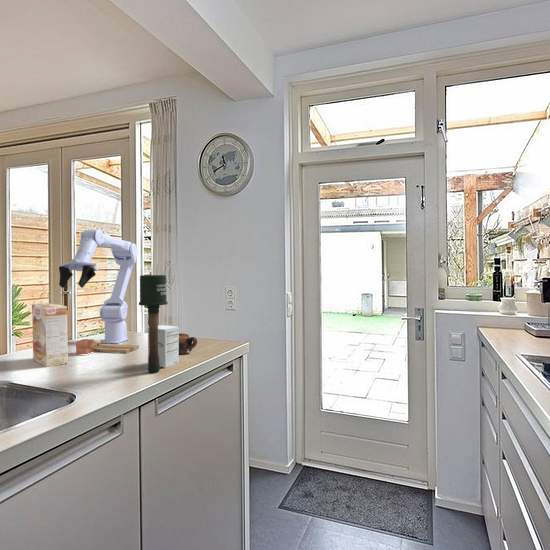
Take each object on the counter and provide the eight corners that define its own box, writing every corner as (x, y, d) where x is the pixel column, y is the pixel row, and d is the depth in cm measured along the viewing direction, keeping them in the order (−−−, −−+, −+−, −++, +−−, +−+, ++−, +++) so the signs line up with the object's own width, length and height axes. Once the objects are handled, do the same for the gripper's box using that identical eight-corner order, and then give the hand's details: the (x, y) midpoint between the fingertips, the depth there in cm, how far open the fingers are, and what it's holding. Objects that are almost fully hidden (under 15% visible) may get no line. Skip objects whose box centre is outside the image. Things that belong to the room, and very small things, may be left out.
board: (97, 346, 166) (97, 343, 166) (138, 348, 163) (138, 345, 163) (83, 351, 157) (83, 348, 157) (126, 353, 154) (126, 349, 154)
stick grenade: (160, 376, 123) (159, 275, 122) (133, 374, 125) (132, 275, 124) (172, 369, 131) (172, 274, 130) (148, 367, 133) (147, 274, 132)
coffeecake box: (32, 359, 144) (31, 304, 143) (54, 356, 149) (53, 302, 148) (45, 367, 133) (44, 307, 133) (68, 363, 138) (67, 305, 138)
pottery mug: (163, 356, 151) (162, 335, 155) (175, 362, 159) (174, 342, 163) (193, 349, 149) (192, 328, 153) (204, 355, 157) (202, 335, 161)
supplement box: (147, 366, 135) (146, 327, 135) (162, 361, 142) (161, 324, 142) (165, 368, 132) (164, 329, 132) (179, 363, 139) (179, 325, 139)
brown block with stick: (94, 348, 162) (94, 336, 162) (103, 349, 162) (103, 336, 162) (76, 355, 152) (75, 341, 151) (86, 355, 151) (85, 341, 151)
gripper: (60, 249, 153) (46, 280, 146) (96, 248, 151) (83, 279, 143) (71, 260, 159) (57, 290, 151) (105, 260, 156) (93, 290, 149)
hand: (70, 286), depth 148 cm, fingers open, 7 cm apart
